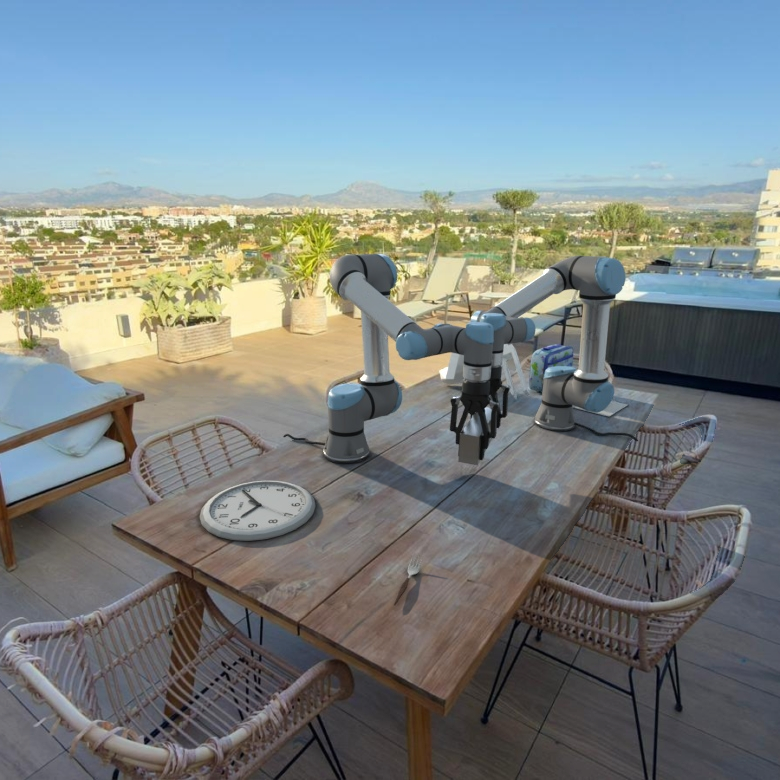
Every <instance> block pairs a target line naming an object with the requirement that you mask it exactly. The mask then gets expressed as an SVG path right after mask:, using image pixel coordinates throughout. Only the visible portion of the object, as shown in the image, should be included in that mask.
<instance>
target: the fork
mask: <svg viewBox="0 0 780 780" xmlns="http://www.w3.org/2000/svg"><path fill="white" fill-rule="evenodd" d="M414 555H415V553H413V554H412V557H411V559H410V562H409V565H408V567H407V573H408V576H407V578H406V579H405V580H404V582H403V583H402V584H401V586H400V587H399V591H398V593H397V596H396V598H395V601H394V604H393V606H396V604H397V603H398V602H399V600H400V599H401V598H402V596H403V594H404V593H405V591H406V590H407V588H408V585H409V582H410V579H411V577H412V576H414V575H417V574H418V573H419V572H420V570H421V565H422V561H423V557H424V556H423V555H422V556H421V555H417V554H416V555H415V557H414ZM417 556H418V558H417ZM420 556H421V557H420ZM420 558H421V559H420ZM413 559H414V560H413ZM416 559H417V560H416ZM419 560H420V562H419ZM415 563H416V564H415Z"/></svg>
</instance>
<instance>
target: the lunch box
mask: <svg viewBox="0 0 780 780" xmlns="http://www.w3.org/2000/svg"><path fill="white" fill-rule="evenodd" d="M530 359H531V360H530V366H529V377H528V379H529V380H528V387H529V390H531V391H536V392H541V393H542V391H543V380H544V379H543V378H544V375H545V370H546V369H547V368H549V367H555V366H570V367H573V363H574V347H572V346H568V345H562V344H551V345H547V346H545V347H541V348H539V349H536V350H534V352H533V353H532V355H531V358H530Z"/></svg>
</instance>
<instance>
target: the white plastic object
mask: <svg viewBox="0 0 780 780" xmlns="http://www.w3.org/2000/svg"><path fill="white" fill-rule="evenodd" d="M510 360H513V363H514V366H515V369H516V372H517V376H518V380H519V382H520V385H521V389H522V391H523V393H524V395H525V396H526V397H528V396H531V395H530V389H529V388H528V387H529V386H528V384H527V381H526V378H525V375H524V371H523V369H522V368H523V367H522V366H521V362H520V359H519V355H518V352H517V349H516V347H515V346H514V345H513V343H510V344H504V349H503V361H502V365H501V367H502V370H503V373H504V376H505V380H506V383H507V386H508V385H509V386H510V390H509V393H510V394H511V395H512V397H513V398H514V399H515V400H517V392H516V391H517V390H516V388H515V385H514V381H513V378H512V375H511V371H510V369H509V365H508V361H510ZM463 366H464V355H460V354H456V353H450V357H449V362H448V366H446V367H444V368H442V369H440V370H439V371H438V372H439V376H440V381H442V383H443V384H444V385H445V386H449V385H458V384H462V382H463V379H464V377H463Z"/></svg>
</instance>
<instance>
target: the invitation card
mask: <svg viewBox="0 0 780 780" xmlns="http://www.w3.org/2000/svg"><path fill="white" fill-rule="evenodd" d="M628 406H629V404H627V403H623V402H618V401H614V400H612V401H611V402H610V404H609V405H608V406H607V407H606V408H605V409H604V410H603V411H601V412H592V411H586V410H585V409H582V408H579V407H576V406H574V407H573V409H575V410H581V411H584V412H587V413H593V414H596V415H600V416H604V417H608V418H609V417H611V416H613V415H614V414H616V413H617V412H619V411H621V410H623V409H624V408H626V407H628Z"/></svg>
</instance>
